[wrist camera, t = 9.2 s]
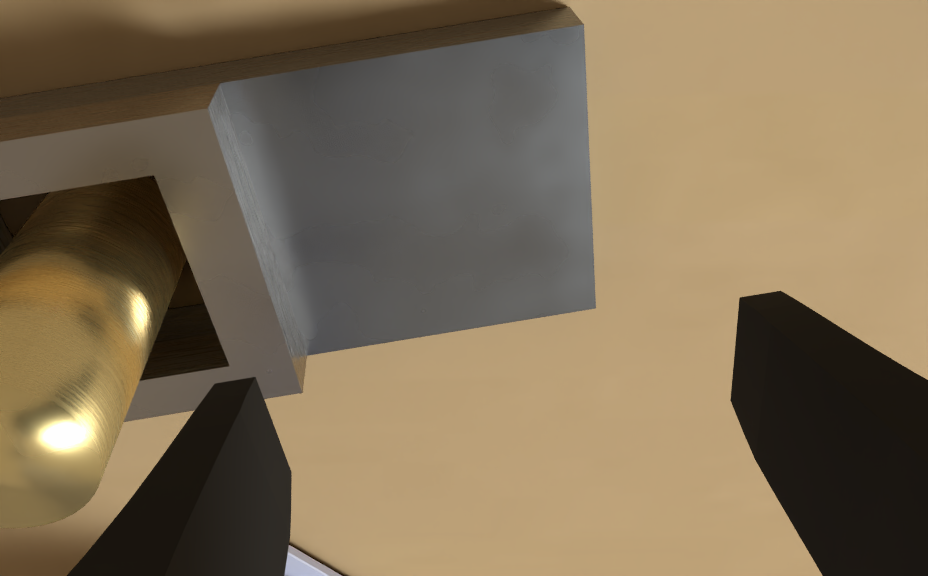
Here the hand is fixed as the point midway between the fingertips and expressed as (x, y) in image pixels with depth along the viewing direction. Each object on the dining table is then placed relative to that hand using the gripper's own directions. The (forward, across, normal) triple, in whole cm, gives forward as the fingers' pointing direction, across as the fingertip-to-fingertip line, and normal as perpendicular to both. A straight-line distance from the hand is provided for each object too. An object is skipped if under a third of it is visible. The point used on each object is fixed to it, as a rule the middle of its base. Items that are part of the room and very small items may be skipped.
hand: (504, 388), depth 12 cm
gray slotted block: (+9, +9, +1) cm, 13 cm away
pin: (+9, +9, +1) cm, 13 cm away
